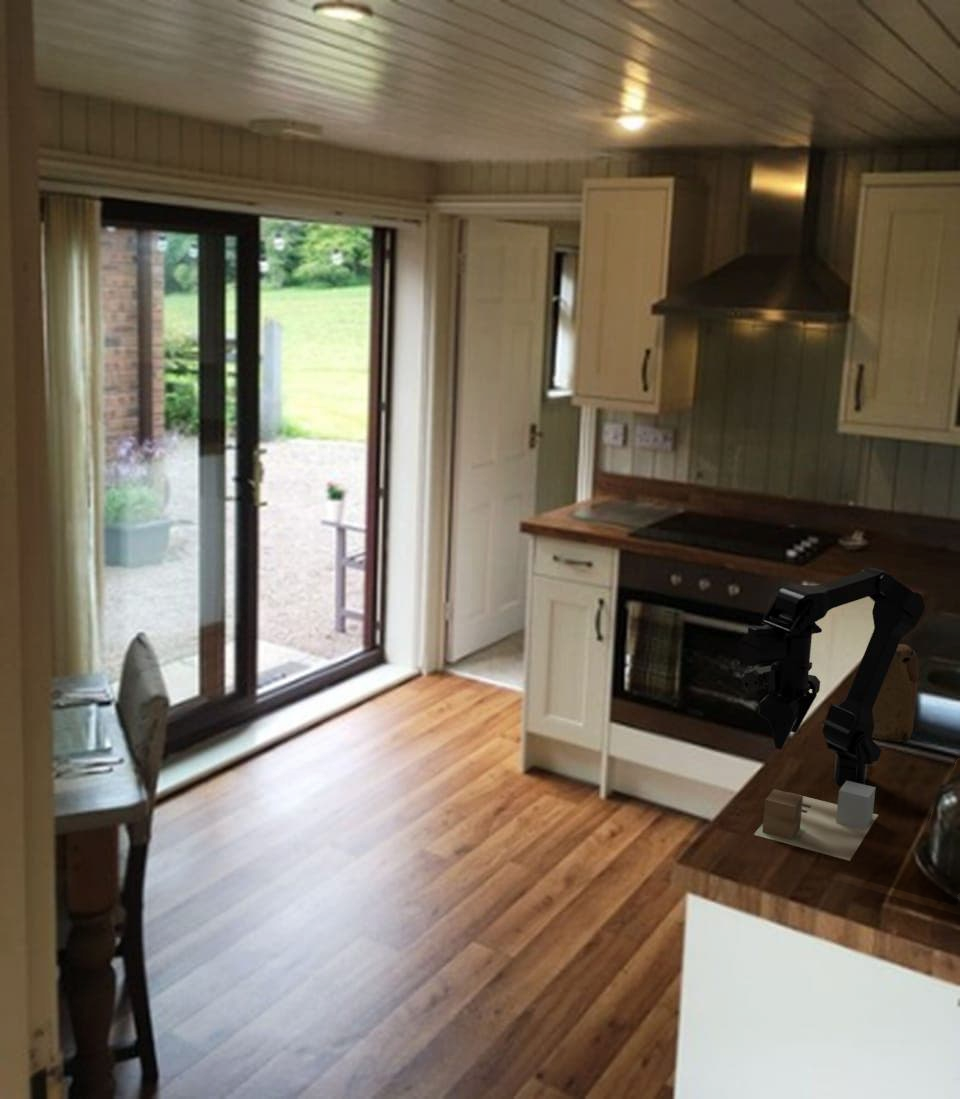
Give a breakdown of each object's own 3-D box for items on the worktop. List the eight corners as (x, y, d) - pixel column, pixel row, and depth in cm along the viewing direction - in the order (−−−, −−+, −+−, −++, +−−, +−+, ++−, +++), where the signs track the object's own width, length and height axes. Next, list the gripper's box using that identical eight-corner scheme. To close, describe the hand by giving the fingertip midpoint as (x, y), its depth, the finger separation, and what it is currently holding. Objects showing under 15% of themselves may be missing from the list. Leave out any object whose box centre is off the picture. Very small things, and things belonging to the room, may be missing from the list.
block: (853, 734, 240) (863, 644, 236) (864, 724, 246) (874, 636, 242) (905, 747, 234) (916, 654, 229) (916, 736, 240) (927, 646, 235)
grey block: (843, 811, 201) (846, 780, 200) (872, 819, 199) (875, 787, 197) (835, 822, 197) (839, 790, 196) (865, 830, 195) (868, 797, 193)
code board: (788, 797, 209) (788, 792, 209) (877, 820, 201) (878, 814, 201) (753, 839, 192) (753, 834, 192) (849, 866, 184) (849, 860, 184)
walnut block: (771, 821, 197) (774, 789, 196) (799, 828, 195) (803, 796, 193) (762, 832, 193) (765, 799, 191) (791, 840, 190) (794, 807, 189)
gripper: (764, 636, 213) (758, 715, 217) (731, 664, 197) (726, 747, 201) (824, 647, 208) (816, 727, 211) (795, 676, 192) (788, 762, 195)
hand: (786, 740), depth 205 cm, fingers open, 9 cm apart
